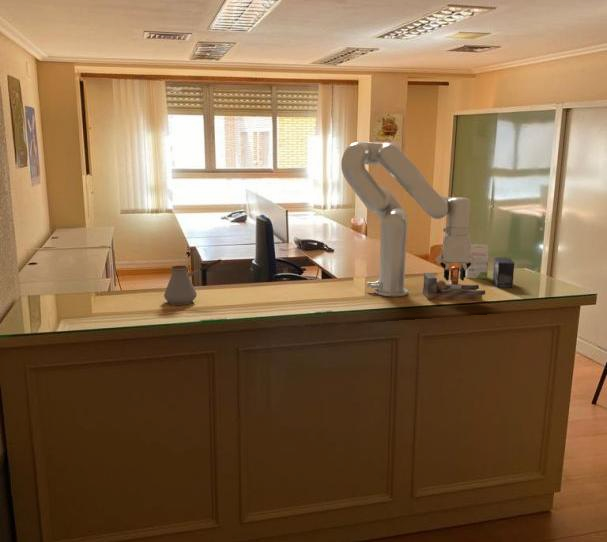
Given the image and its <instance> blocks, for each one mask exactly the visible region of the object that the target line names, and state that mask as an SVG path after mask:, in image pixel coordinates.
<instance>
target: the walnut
mask: <svg viewBox="0 0 607 542" xmlns="http://www.w3.org/2000/svg"><path fill="white" fill-rule="evenodd" d="M446 284H447V282H446V281H444V280H443V279H437V284H436V290H437V291H439V292H441V290H445V288H446Z"/></svg>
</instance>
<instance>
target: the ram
mask: <svg viewBox="0 0 607 542" xmlns="http://www.w3.org/2000/svg"><path fill="white" fill-rule="evenodd" d="M459 279H460V267H459V266H456V265H454V266H453V265H452V266H451V267H450V273H449V280H448V281H447V280H446V284H447V285H446V289H447V290H461V285H462V283H460V282H459Z"/></svg>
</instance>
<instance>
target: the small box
mask: <svg viewBox="0 0 607 542" xmlns="http://www.w3.org/2000/svg"><path fill="white" fill-rule="evenodd" d="M493 261H494V263H493V274H492V276H493V277H492V282H493V284H494V285H495V287H496V289H513V288H514V273H515V272H514V271H515V265H516V264H515V262H514V261H513V260H512V259H511V258H510V257H500V256H499V257H496V256H495V257H494V258H493Z"/></svg>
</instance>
